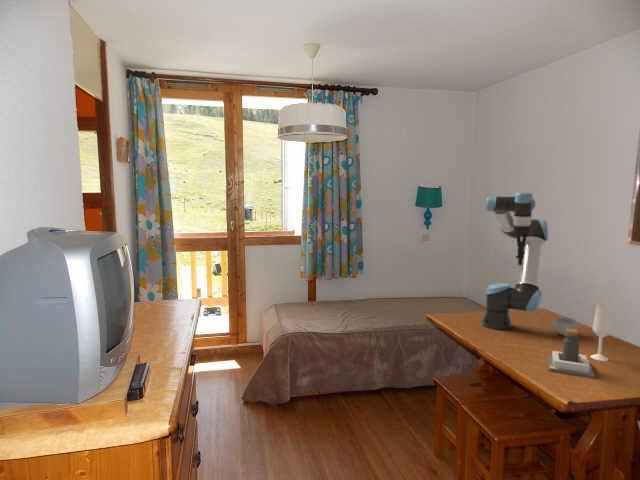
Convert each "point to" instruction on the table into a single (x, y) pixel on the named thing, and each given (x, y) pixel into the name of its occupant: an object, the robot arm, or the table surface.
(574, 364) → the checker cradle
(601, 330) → the champagne flute
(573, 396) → the table surface
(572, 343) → the bottle
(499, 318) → the robot arm
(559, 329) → the teacup
